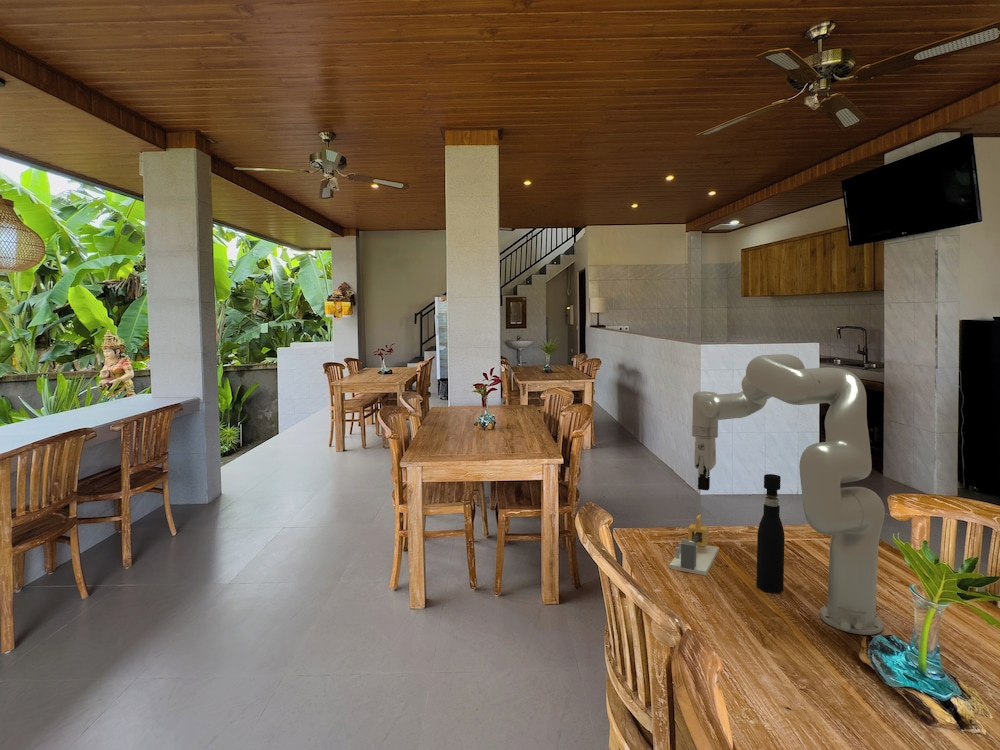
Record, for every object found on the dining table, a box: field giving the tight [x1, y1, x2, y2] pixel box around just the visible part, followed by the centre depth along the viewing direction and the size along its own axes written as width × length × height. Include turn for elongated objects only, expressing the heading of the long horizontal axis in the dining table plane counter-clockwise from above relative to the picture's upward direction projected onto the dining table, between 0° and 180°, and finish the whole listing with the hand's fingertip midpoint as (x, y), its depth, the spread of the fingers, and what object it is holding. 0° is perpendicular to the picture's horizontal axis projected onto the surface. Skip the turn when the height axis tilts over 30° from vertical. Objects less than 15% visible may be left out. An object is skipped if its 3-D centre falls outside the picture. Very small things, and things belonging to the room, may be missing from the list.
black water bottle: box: [756, 473, 786, 594], centre depth 150 cm, size 6×6×30 cm
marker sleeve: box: [687, 514, 709, 547], centre depth 174 cm, size 4×5×8 cm
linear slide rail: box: [669, 532, 720, 577], centre depth 170 cm, size 20×10×8 cm, turn 150°
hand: (703, 489), depth 181 cm, fingers closed
